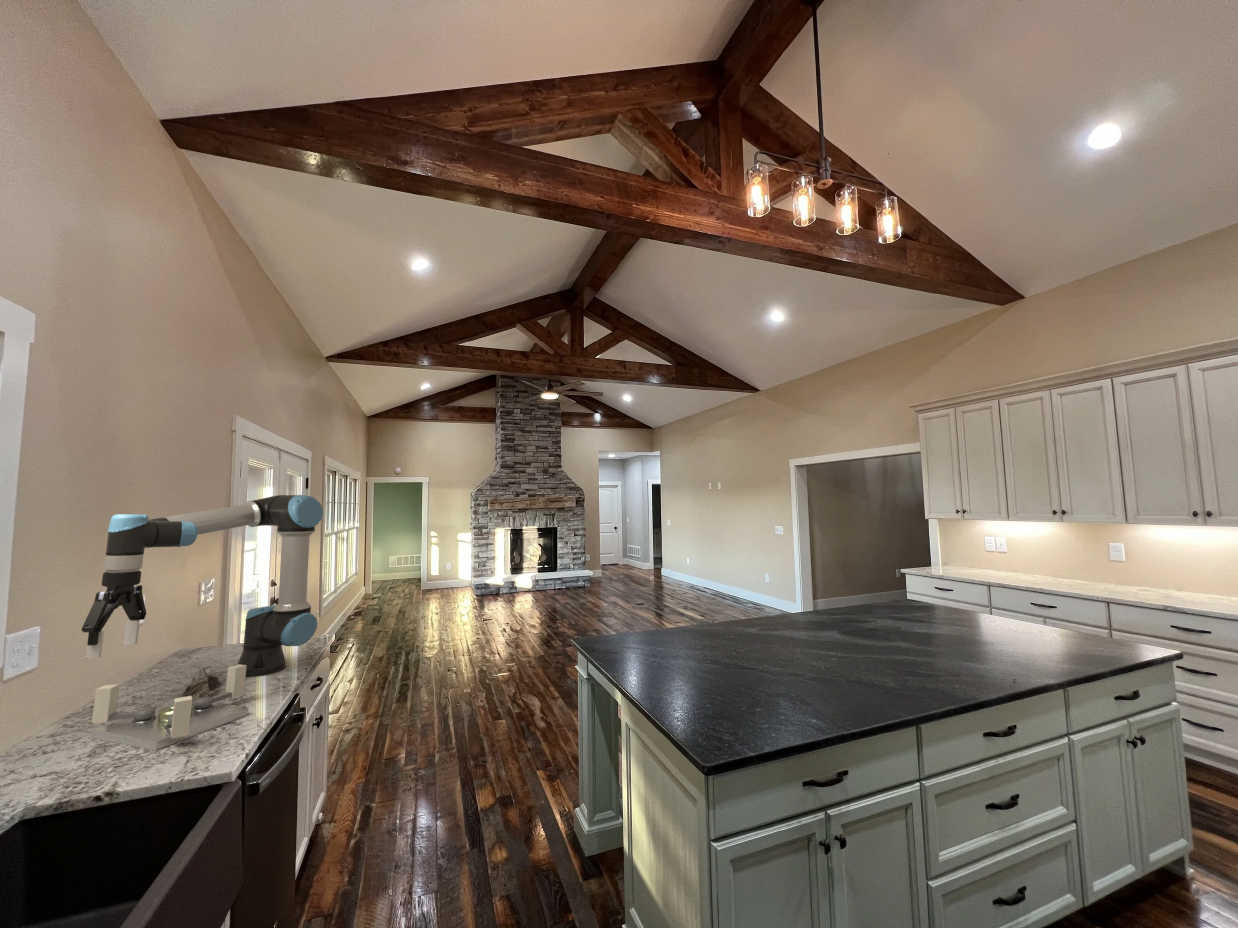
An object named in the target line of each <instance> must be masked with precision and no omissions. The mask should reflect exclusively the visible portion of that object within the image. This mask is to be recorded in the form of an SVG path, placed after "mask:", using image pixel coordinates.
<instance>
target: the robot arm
mask: <svg viewBox="0 0 1238 928" xmlns="http://www.w3.org/2000/svg"><path fill="white" fill-rule="evenodd" d="M323 515H324V509H323V506H322V504H321V503H320V501H319V500H318V499H316V498H315V497H314V496H311V495H305V494H291V495H289V494H286V495H285V494H280V495H279V494H278V495H272V496H268V497H264V498H258V499H253V500H248V501H245V503H243V504H241V505H234V506H228V507H226V506H225V507H220V508H214V509H209V510H208V509H207V510H202V511H194V512H189V513H188V512H187V513H183V514H176V515H171V516H169V515H168V516H163V517H157V518H150V519H149V516H148V515H147V514H137V513H136V514H129V513H124V514H123V513H117V514H114V515H112V517H110V521H109V525H108V529H107V541H106V551H105V558H104V563H103V564H104V566H103V570H104V572H103V573H102V578H101V586H103V587H106V591H97V592H96V594H95V597H94V601H93V603H92V605H91V607H90V610H89V612H88V614H87V616H86V619H85V621H84V622H83V625H82V627H81V632H82V633H88V637H87V645H86V653H85V659H99V658H102V649H103V643H104V636H105V635H104V634H105V631H104V630H103V629H104V627H105V625H106V624H107V622H108V620H109V619H110V618H111V616H112V614H113V613H114V612H115V610H117V609H118V608H119V607H122V609H123V610H124V612H125V614H126V617H127V618H128V620H126V622H125V629H124V630H125V631H124V638H123V646H127V645H128V646H129V645H132V646H133V645H137V644H138V638H139V637H138V636H139V629H140V628H139V627H140V621H141V620H142V621H144V620H145V619H146V615H147V608H146V604H145V600H144V595H143V585H141V584H140V583H141V579H142V571H141V569H143V566H144V565H143V564H144V556H145V550H146V549H149V548H175V547H176V548H181V547H190V546H192V545H194V543H195V541H196V540H197V538H198V536H199V535H206V534H209V533H213V532H220V531H225V530H230V529H235V528H241V527H246V526H248V527H250V528H256V527H261V526H262V527H263V526H265V527H266V526H271V527H272V526H273V527H274V526H275V527H277V528H276V529H277V530H276V531H277V533H276V534H278V535H280V536H281V550H280V551H281V552H280V568H279V583H278V584H279V586H278V588H279V589H278V603H277V604H276V605H275V604H274V605H268V606H261V607H260V606H259V607H256V608H255V607H254V608H251V609H248V611H247V613H246V617H245V620H244V622H245V624H244V625H245V626H244V628H245V629H244V636H243V637H244V638H243V649H242V653H241V654H240V656H239V657H240V658H239V659H238V661H237V664H236V665H238V664H240V665H246V676H245V678H246V677H248V678H249V677H258V676H259V677H260V676H261V677H262V676H266V675H271V674H274V673H275V674H276V673H278V672H280V671H283V670H284V669H286V659H285V655H284V650H283V648H282V647H283V646H284V647H299V646H303V645H304V644H305V643H307V642H309V641H310V639H311V638H312V637H313V636H315V633H316V631H317V628H318V619H317V617H316V616H315V615H314V613H311V612H312V611H311V610H312V605H311V603H309V602H308V601H307V596H308V595H307V594H308V579H309V578H308V577H309V576H308V575H309V561H310V559H309V558H310V557H309V555H310V542H311V541H310V537H311V535H312V534H313V533H315V531H316V526H318V524H320V522H321V521H322V519H323ZM139 584H140V585H139Z"/></svg>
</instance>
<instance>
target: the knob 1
mask: <svg viewBox="0 0 1238 928" xmlns="http://www.w3.org/2000/svg"><path fill="white" fill-rule="evenodd" d="M119 691H120V684H119V683H117V684H105V685H104V684H103V686H101V687H97V688H96V689H95V695H94V702H93V710H92V718H91V724H101V723H102V724H103V723H104V724H105V723H108V722H110V721H114V720H124V719H132V718H134V720H136V721H141V720H147V719H150V718H153V717H154V716H155V709H157V708H156V706H155V707H154V706H147V707H141V708H140V709H137V710H134V711H122V712H119V711H118V712H117V708H118V702H119V701H118V699H119Z"/></svg>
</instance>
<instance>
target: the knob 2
mask: <svg viewBox="0 0 1238 928" xmlns="http://www.w3.org/2000/svg"><path fill="white" fill-rule="evenodd" d="M173 704H174V709H173V715H170V716H169V717H168V721H167V726H168V727H171V739H172V738H177V737H181V736H186V735H189V726H190V717H191V707H192V696H187V697H181V698H178V697H176V698H174V700H173Z"/></svg>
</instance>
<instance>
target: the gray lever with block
mask: <svg viewBox="0 0 1238 928" xmlns="http://www.w3.org/2000/svg"><path fill="white" fill-rule="evenodd" d="M237 664H238V663H237ZM237 664H235V665H231V666H228V667H227V674H226V683H225V684H226V685H225V692H222V693H220V694H215V696H213V697H210V696H207V697H201V698H197V699H195V700H194V709H202V708H207V707H210V706H211V705H212V703H214V702H217V703H218V702H219V701H222V700H226V699H229V698H231V699H235V698H237V697H241V696H243V695H244V693H245V684H246V677H245V676H246V665H240V664H238V665H237Z"/></svg>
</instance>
